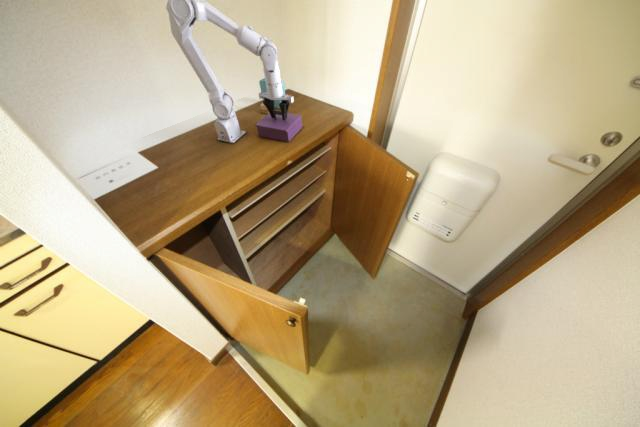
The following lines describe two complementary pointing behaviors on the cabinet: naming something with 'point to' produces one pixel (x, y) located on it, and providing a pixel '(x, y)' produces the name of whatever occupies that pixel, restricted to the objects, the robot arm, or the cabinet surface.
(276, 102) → the teal flat upright piece
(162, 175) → the cabinet surface
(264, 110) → the block
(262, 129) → the purple flat box
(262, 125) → the lid
